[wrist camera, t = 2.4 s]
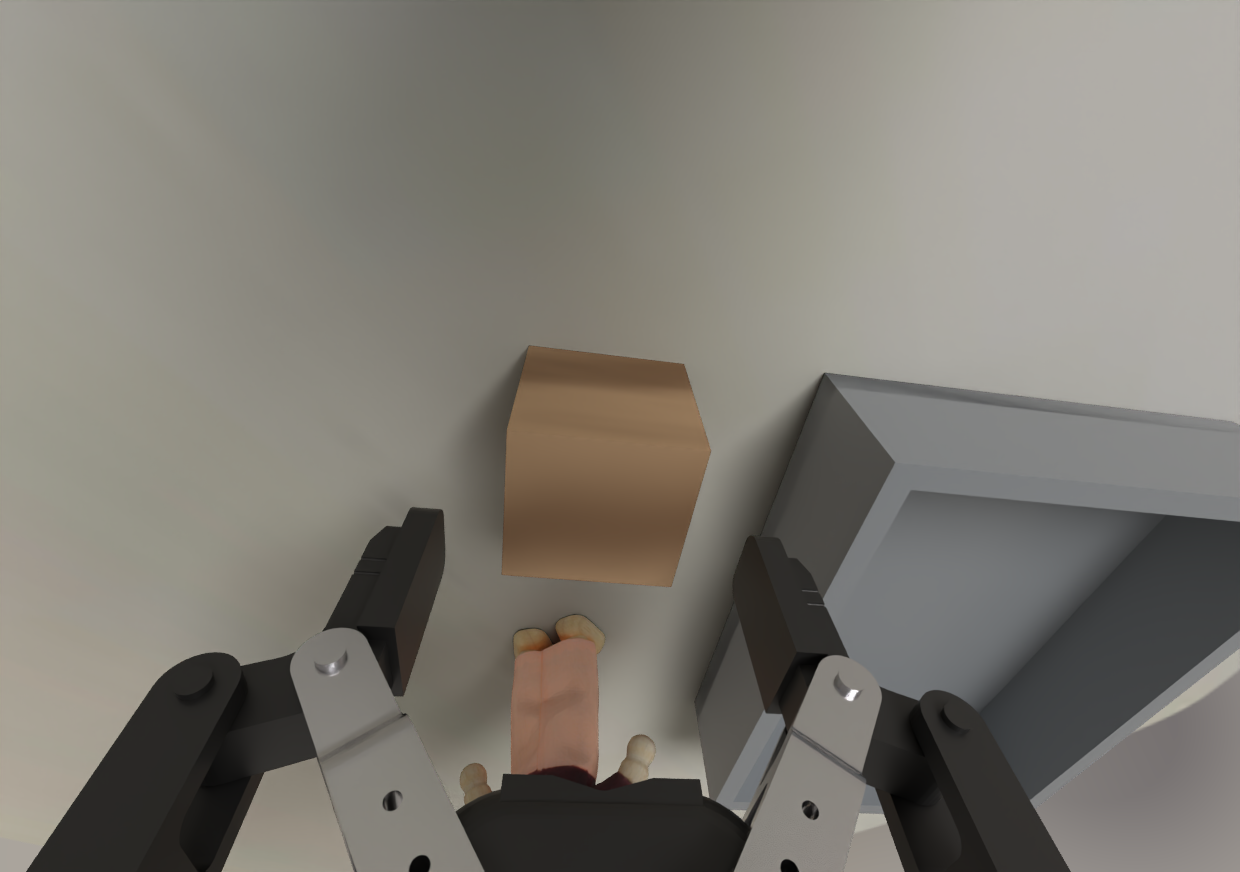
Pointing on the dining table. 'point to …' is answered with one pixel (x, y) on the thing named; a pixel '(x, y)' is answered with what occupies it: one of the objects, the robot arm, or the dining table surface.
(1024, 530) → the tote
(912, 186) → the dining table surface
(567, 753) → the grandmother figurine
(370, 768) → the robot arm
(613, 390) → the walnut block
